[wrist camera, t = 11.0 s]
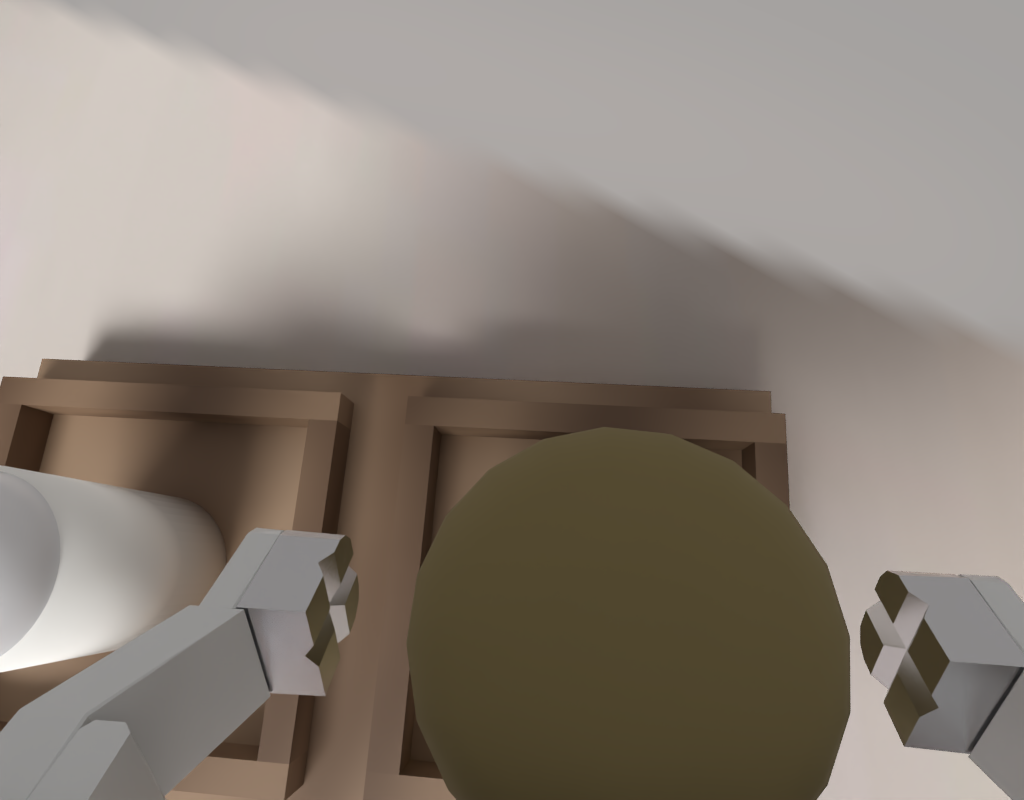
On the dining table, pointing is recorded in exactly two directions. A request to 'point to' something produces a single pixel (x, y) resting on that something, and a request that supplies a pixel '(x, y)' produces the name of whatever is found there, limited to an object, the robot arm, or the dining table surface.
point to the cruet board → (332, 516)
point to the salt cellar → (94, 565)
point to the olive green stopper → (627, 631)
